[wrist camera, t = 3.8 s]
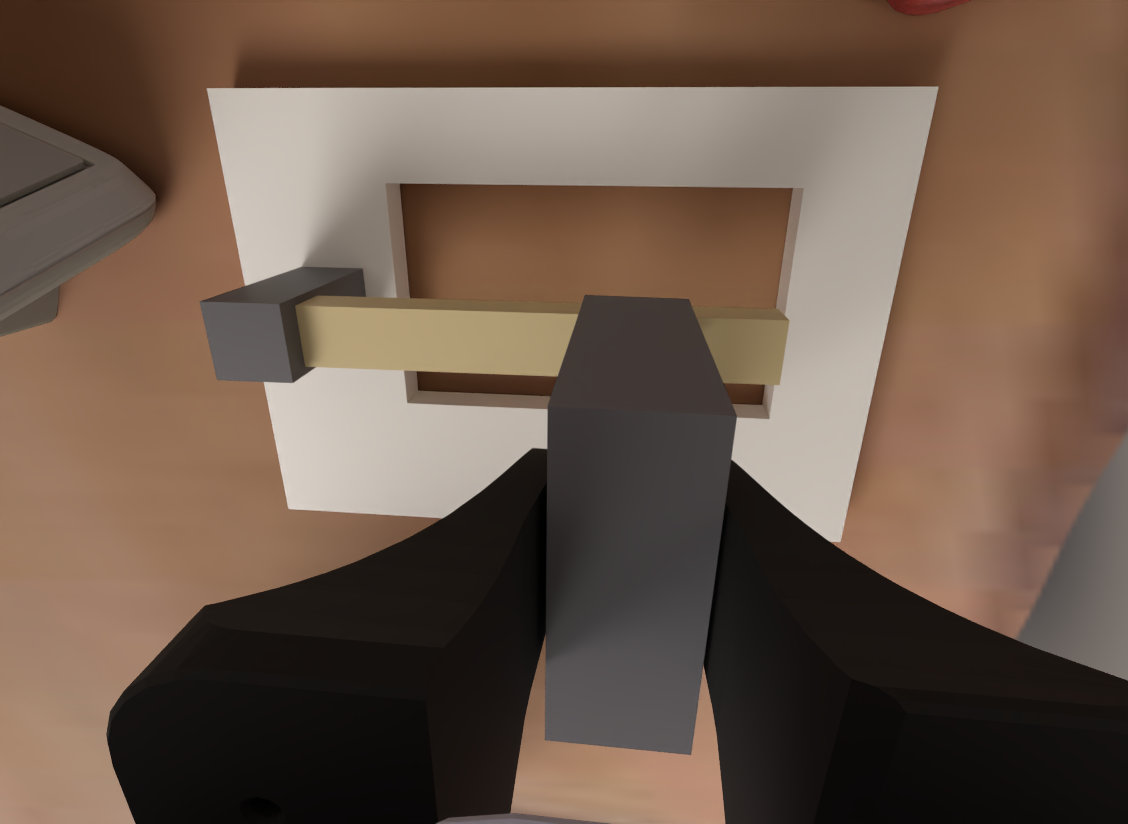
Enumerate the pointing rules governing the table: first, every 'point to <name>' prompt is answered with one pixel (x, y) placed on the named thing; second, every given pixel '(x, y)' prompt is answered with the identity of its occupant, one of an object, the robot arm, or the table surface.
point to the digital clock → (58, 215)
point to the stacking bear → (923, 6)
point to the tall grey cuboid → (633, 523)
